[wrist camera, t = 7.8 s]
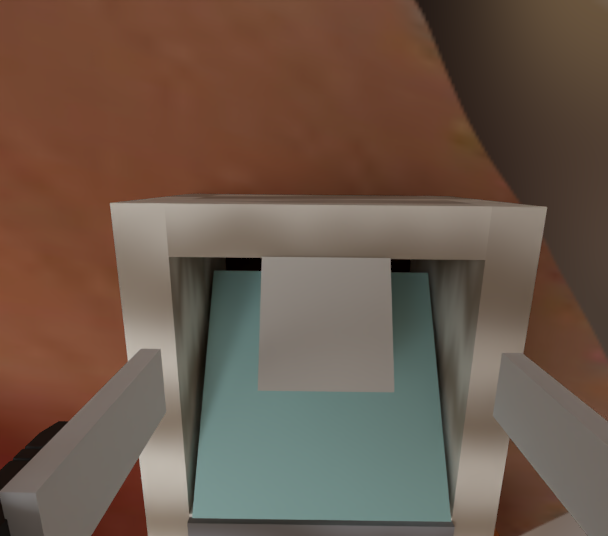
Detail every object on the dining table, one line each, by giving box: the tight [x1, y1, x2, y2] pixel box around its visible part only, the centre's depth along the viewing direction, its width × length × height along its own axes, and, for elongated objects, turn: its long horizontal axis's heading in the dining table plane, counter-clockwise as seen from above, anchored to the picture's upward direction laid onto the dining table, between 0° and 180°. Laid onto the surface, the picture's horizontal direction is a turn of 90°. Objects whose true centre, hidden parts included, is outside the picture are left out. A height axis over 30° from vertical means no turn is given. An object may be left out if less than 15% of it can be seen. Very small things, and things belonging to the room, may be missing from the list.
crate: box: [110, 194, 547, 536], centre depth 25 cm, size 20×20×12 cm
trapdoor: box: [192, 271, 451, 522], centre depth 22 cm, size 14×14×1 cm
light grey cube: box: [258, 257, 394, 392], centre depth 19 cm, size 6×6×6 cm
